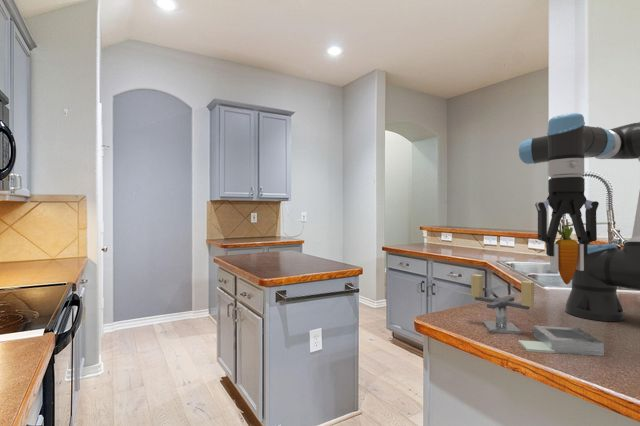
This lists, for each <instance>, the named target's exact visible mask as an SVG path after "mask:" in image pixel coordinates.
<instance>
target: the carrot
mask: <svg viewBox="0 0 640 426" xmlns="http://www.w3.org/2000/svg"><path fill="white" fill-rule="evenodd" d="M563 227H564V228H563V229H564V231H562V230H560V229H559V228H558V232H557V233H558V234H559V235H561V237H562V238H560V239H557V241H556V240H555V242H554V243H555V244H558V270H557V271H558V273H559V276H560V277H561V280H562V282H563V283H564V284H565V285H569V284H570V283H571V282H572V278H573V276H574V273H575V270H576V266H577V260H578V243H579V242H578V240H577V241H576V240H575V239H571V238H570V237H571V236H572V233H573V230H574V227H572V226H571V227H569V225H568V224H564V225H563Z"/></svg>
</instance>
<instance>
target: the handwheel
mask: <svg viewBox="0 0 640 426" xmlns="http://www.w3.org/2000/svg"><path fill="white" fill-rule="evenodd" d="M470 279H471V281H470V282H471V283H470V285H471V287H470V289H471V290H470V291H471V292H470V294H471V295H470V297H474V300H475V301H477V302H478V301H480V302H484V303H487V304H486V309H487V308H488V309H492V310H494V309H495V310H496V308H497V307H500V306H507V307H511V308H515V309H522V310H530V309H531V308H532V307H534V306H535V282H534V281H530V280H529V281H528V280H522V281H521V284H520V286H521V287H520V289H521V290H520V291H521V292H520V296H521V297H520V299H521V300H520V302H516V301H515V297H514V296H510V295H507V296H504V297H486V296H483V295H484V285H483V284H484V281H483V280H484V275H483V274H476V273H475V274H471V278H470Z"/></svg>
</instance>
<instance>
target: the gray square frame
mask: <svg viewBox="0 0 640 426" xmlns="http://www.w3.org/2000/svg"><path fill="white" fill-rule="evenodd" d="M532 331H533V332H532V333H533V335H532V337H533V338H534V339H535V340H536V341H539V342H543V343H544V344H545V345H546V346H548V347H549V348H550V349H551V350H554V351H555V353H554V354H569V355H570V354H571V355H582V356H583V355H585V356H597V357H598V356H599V357H605V355H604V354H605V345H604V342H603V341H601V340H599V339H598V338H596V337H594V336H593V335H591V334H589V333H588V332H586V331H585V330H582V329H581V328H579V327H566V326H564V327H563V326H548V325H547V326H546V325H545V326H544V325H533V326H532Z"/></svg>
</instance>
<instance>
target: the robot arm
mask: <svg viewBox="0 0 640 426" xmlns="http://www.w3.org/2000/svg"><path fill="white" fill-rule="evenodd" d="M547 123H548V124H547V133H546V135H544V136H543V135H542V136H539V137H531V138H530V139H526V140H523V141H521V143H520V144H519V147H518V157H519V158H520V160H521V161H522V162H523V163H524V164H526V165H530V164H540V163H547V176H548V177H549V179H548V183H547V184H548V185H547V186H548V187H547V190H548V191H547V192H548V196H547V198H546V200H543V201H537V202H536V203H535V205H534V206H535V208H536V210H537V240H538V241H541V242H544V243H545V245H546V246H545V248H546V249H545V250H546V256H547V257H550V258H549V260H550V262H549V263H550V265H549V267H550V269H552V270H554V271H558V244H555V243H556V238H557V236H558V233H559V232H558V229H559V228H560V225H561V221H562V218H563V217H564V215H569V217H570V219H571V222H572V226H573V230H574V232H575V236H576V239H577V243H578V260H577V266H576V270H575V273H574V276H573V278H572V280H571V290H570V292H569V295H568V298H567V300H566V302H565V312H566V313H567V314H569V315H572V316H574V317H579V318H583V319H585V320H586V319H588V320H593V321H599V322H600V321H601V322H621V321H624V319H625V317H624V316H625V311H624V310H623V307H622V304H621V302H620V299H619V296H618V293H617V288H623V289H630V290H636V291H640V190H639V191H638V197H637V198H638V199H637V205H636V212H635V216H634V221H633V222H634V224H633V229H632V235H631V238H629V239H628V240H626V241H624V243H623V246H622V247H623V248H622V249H621V248H620V249H619V248H618V246H617V245H616V244H614V243H608V244H604V243H603V244H590V243H593V242H596V241H597V237H598V236H597V229H598V228H597V210H598V207H599V205H600V203H599V202H598V201H597V200H595V201H593V200H589V199H587V197H586V195H585V190H586V189H585V184H586V183H585V180H586V179H585V178H584V177H583V176H584V175H585V159H589V158H595V159H599V160H634V159H635V160H637V159H638V162H640V121H639V122H632V123H629V124H624V125H621V126H617V127H614V128H610V129H605V128H603V127H599V126H596V127H595V126H589V125H585V124H586V122H585V117H584V115H583V114H582V113H577V112H576V113H575V112H573V113H572V112H571V113H565V114H559V115H555V116H552V118H550V119H549V120H548V122H547ZM583 206H584V209H585V215H584V216H585V225H584V221H583V218H582V216H583V215H582V211H581V209H582V208H583ZM548 207H550V208H551V210H552V212H551V218H550V223H549V226H548V211H547V209H549V208H548Z"/></svg>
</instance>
